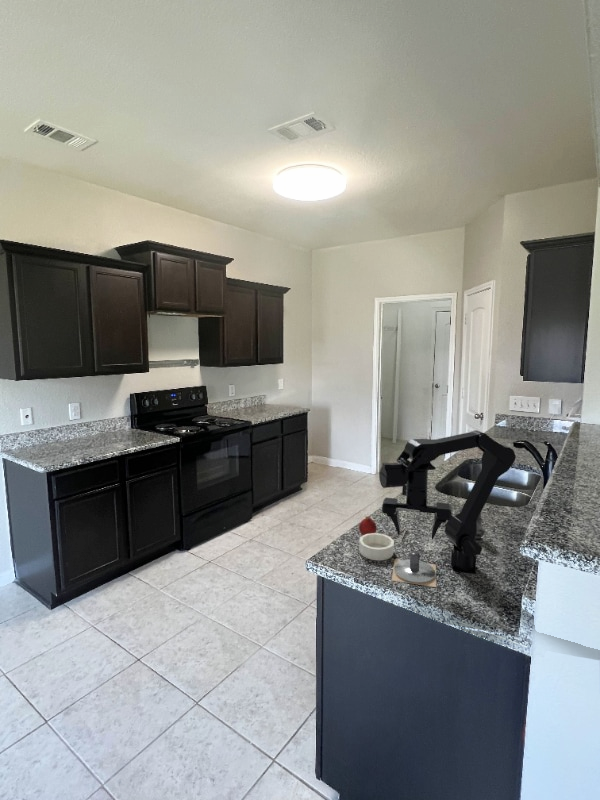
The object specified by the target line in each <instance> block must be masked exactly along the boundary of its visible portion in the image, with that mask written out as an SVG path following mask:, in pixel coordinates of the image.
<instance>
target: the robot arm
mask: <svg viewBox="0 0 600 800" xmlns="http://www.w3.org/2000/svg"><path fill="white" fill-rule="evenodd" d="M475 448H477V449H478V450H480V451H481V452H482V455H481V469H480V472H479V474H478V476H477V478H476V480H475V482H474V483H473V485H472V487H471V490H470V492H469V494H468V496H467V498H466V500H465V502H464V504H463V506H462V508H461V510H460V512H459V513H457V514H455V515H453V514H452V513H453V512H452V506H451V504H450V503H448V502H437V501H436V505H435V506H434V505H428V483H429V482H428V480H429V479H428V478H429V471H435V470H436V467H435V466H434V465H433V464H432V462H433V461H435V460H437V458H439V457H440V456H443V455H449V454H451V453H456V452H461V451H465V450H469V449H470V450H471V449H475ZM516 458H517V455H516V453H515V451H514V449H513V448H511V447H509V446H506V445H504V444H501V443H499V442H498V441H496V440H495V439H493V438H491V437H490V436H489V435H488V434H487V433H485V432H483V431H480V430H475V429H474V430H472V431H469V432H465V433H459V434H454V435H450V436H446V437H442V438H436V439H432V438H431V439H429V438H413V439H409V440H408V441H407V443H406V444H405V445H404V449H403V450H402V452H401V453H400V455H399V456H398V457H397V459H396V462H382V467H380V470H379V472H378V478H379V483H380V486H381V487H382V488H383V489H385V488H386V489H387V488H396V487H397V488H401V487H402V488H401V489H402V490H401V495H402V496H405V498H406V499H405V502H404V503H403V502H402V503H401V502H398V501H399V500H398V498H394V497H385V498H384V499H383V502H382V505H381V512H382V513H381V514H384V515H385V514H386V517H389V518H390V520H391V521H392V523H393V525H394V528H395V530H396V533H398V536H400V535H401V533H400V531H401V525H400V514H399V511H408V512H416V513H417V512H418V513H425V514H427V513H428V514H434V517H433V523H432V529H431V540H434V538H435V536H436V534H437V532H438V530H439V528H440V527H441V525H442V524H443V523H445V524H444V525H443V526H444V527H445V528H444V534H445V536H446V537H447V539H448V540H449V543H450V544H452V545H453V546H452V549H451V550H450V562H449V563H450V566H451V567H452V571H453V572H457V573H464V574H472V575H477V572H478V571H477V567H476V566H477V556H480V555H481V553H482V551H483V547H482V546H481V545H480V543H477V542H476V541H474V540H475V537H476V534H477V519H478V517H479V515H480V513H481V514H482V512H483V509H484V507H485V506H486V503H487V501H488V499H489V498H490V495H491V494H492V491H493V489H494V487H495V486H496V484H497V481H498V479H499V478H500V477H501V476H503V475H504V474H505V473H507V472H508V471H509V470H510V468H511V467H512V466H513V464H514V463H515V460H516ZM409 459H410V460H411V461H410V460H409Z"/></svg>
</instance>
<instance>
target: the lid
mask: <svg viewBox="0 0 600 800" xmlns="http://www.w3.org/2000/svg"><path fill="white" fill-rule="evenodd" d="M420 557H421V555H420V552H418V551H414V550H413V551H411V552H410V553H409V559H408V558H407V559H400V560H401V561H399V562H397V563H396V564H395V566H394V565H393V568H394V572H395V574H396V575H397V576H398V577H399V578H401V579H402V580H404V581H407V582H411V583H419V584H420V583H427V582H430V581H432V580H433V579H434V578H435V570H434V568H433V567H432V566H430V565H429V564H430V563H428V562H425V561H422V560H420ZM427 563H428V564H427ZM411 583H410V584H411Z"/></svg>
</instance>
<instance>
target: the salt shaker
mask: <svg viewBox="0 0 600 800" xmlns="http://www.w3.org/2000/svg"><path fill="white" fill-rule="evenodd" d="M482 521H483V518H482V512H481V513H480V515H479V517H478V519H477V534H476V537H475V540H474V541H476V542H477V543H478V544H482V543H483V542H484V539H483V536H484V534H485V532H486V530H485V528H483V527H482V525H481V524H482V523H481V522H482Z"/></svg>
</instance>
